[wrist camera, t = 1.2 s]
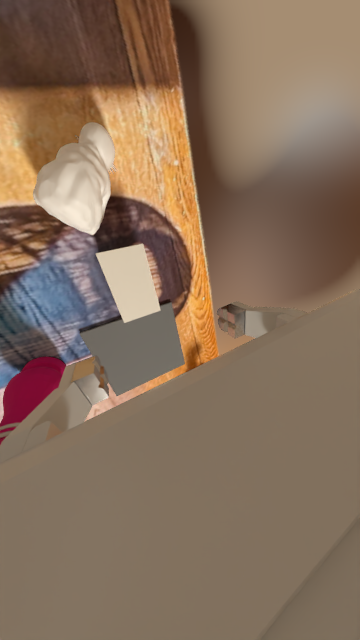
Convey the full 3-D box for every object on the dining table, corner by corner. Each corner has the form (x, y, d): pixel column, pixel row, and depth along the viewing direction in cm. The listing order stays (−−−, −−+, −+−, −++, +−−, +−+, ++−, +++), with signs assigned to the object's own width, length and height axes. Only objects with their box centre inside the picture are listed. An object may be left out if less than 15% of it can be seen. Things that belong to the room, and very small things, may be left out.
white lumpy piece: (15, 191, 14) (66, 45, 12) (43, 216, 21) (77, 125, 20) (93, 236, 17) (139, 124, 16) (94, 244, 24) (125, 168, 23)
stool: (97, 252, 25) (95, 253, 19) (134, 244, 26) (143, 243, 21) (120, 308, 30) (124, 323, 24) (150, 298, 31) (160, 310, 26)
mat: (79, 332, 28) (79, 333, 28) (170, 301, 33) (171, 302, 33) (116, 394, 37) (116, 396, 37) (183, 362, 42) (184, 363, 42)
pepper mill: (29, 348, 26) (-100, 524, 10) (76, 359, 30) (44, 497, 13) (12, 382, 27) (-133, 597, 10) (60, 388, 31) (11, 551, 14)
